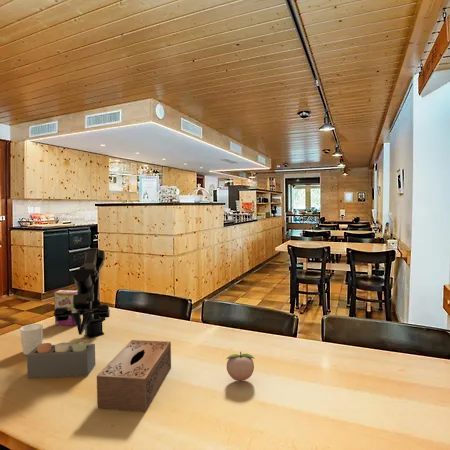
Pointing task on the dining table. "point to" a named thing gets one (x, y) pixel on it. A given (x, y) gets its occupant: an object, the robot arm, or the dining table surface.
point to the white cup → (31, 337)
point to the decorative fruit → (240, 366)
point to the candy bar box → (65, 304)
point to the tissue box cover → (134, 376)
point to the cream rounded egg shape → (62, 347)
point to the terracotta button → (44, 348)
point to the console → (61, 363)
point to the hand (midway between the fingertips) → (80, 334)
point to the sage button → (79, 347)
